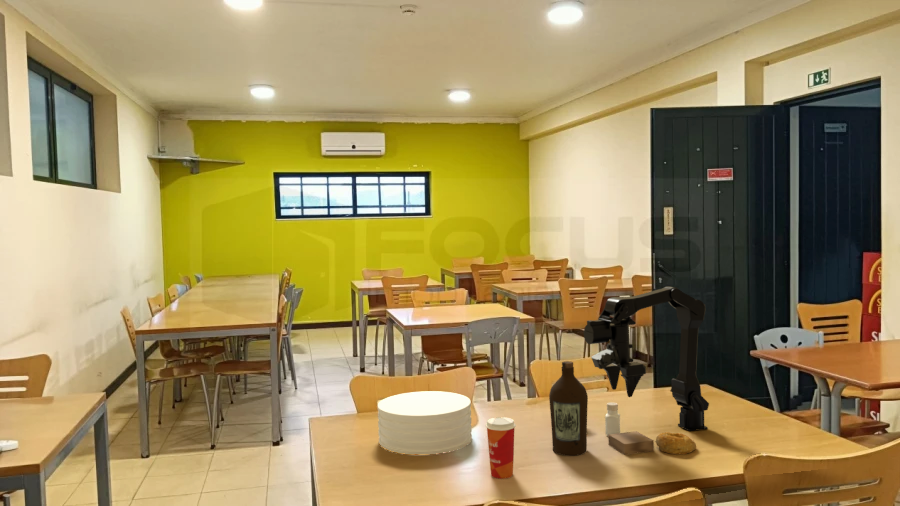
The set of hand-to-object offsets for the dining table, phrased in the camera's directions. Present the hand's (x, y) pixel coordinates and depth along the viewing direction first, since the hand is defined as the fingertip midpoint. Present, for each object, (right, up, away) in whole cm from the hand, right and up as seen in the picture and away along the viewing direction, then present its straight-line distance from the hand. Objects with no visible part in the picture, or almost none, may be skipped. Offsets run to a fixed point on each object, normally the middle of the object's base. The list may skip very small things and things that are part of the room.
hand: (621, 393), depth 198 cm
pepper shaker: (-2, -14, +3) cm, 14 cm away
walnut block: (0, -14, -9) cm, 16 cm away
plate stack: (-58, -15, +5) cm, 60 cm away
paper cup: (-37, -16, -26) cm, 48 cm away
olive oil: (-17, -14, -9) cm, 24 cm away
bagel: (+12, -14, -11) cm, 21 cm away
